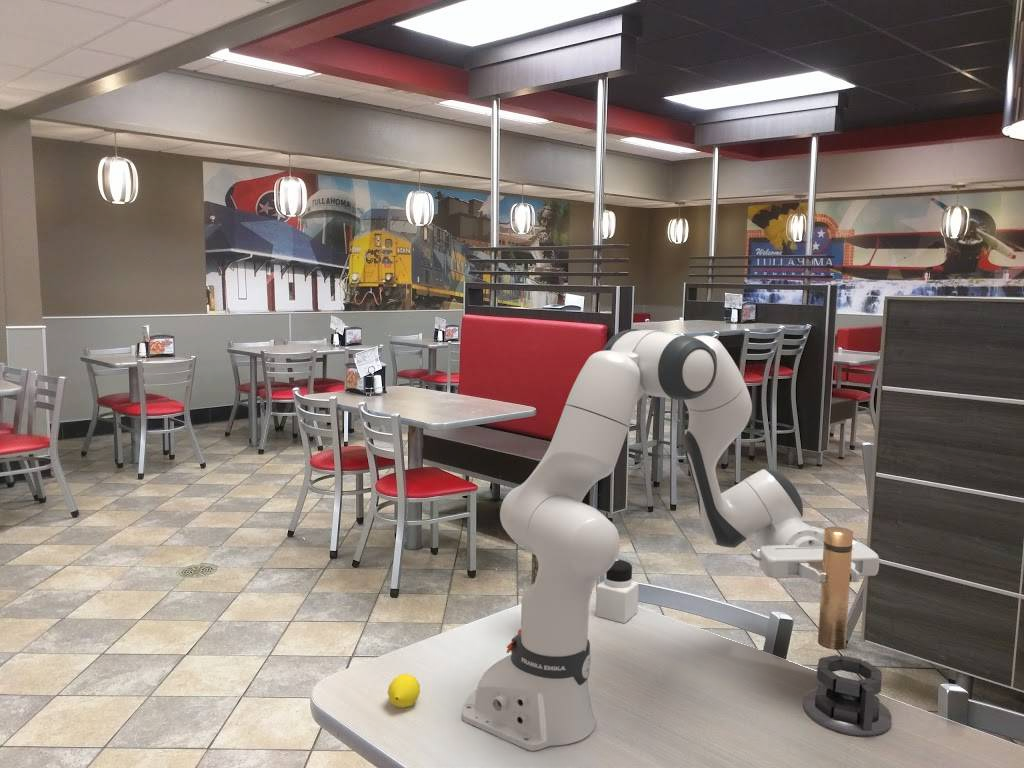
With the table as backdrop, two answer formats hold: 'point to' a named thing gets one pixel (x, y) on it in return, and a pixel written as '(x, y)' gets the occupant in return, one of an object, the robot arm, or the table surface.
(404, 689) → the lemon
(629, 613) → the medicine bottle
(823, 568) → the tube
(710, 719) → the table surface
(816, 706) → the collar stand
